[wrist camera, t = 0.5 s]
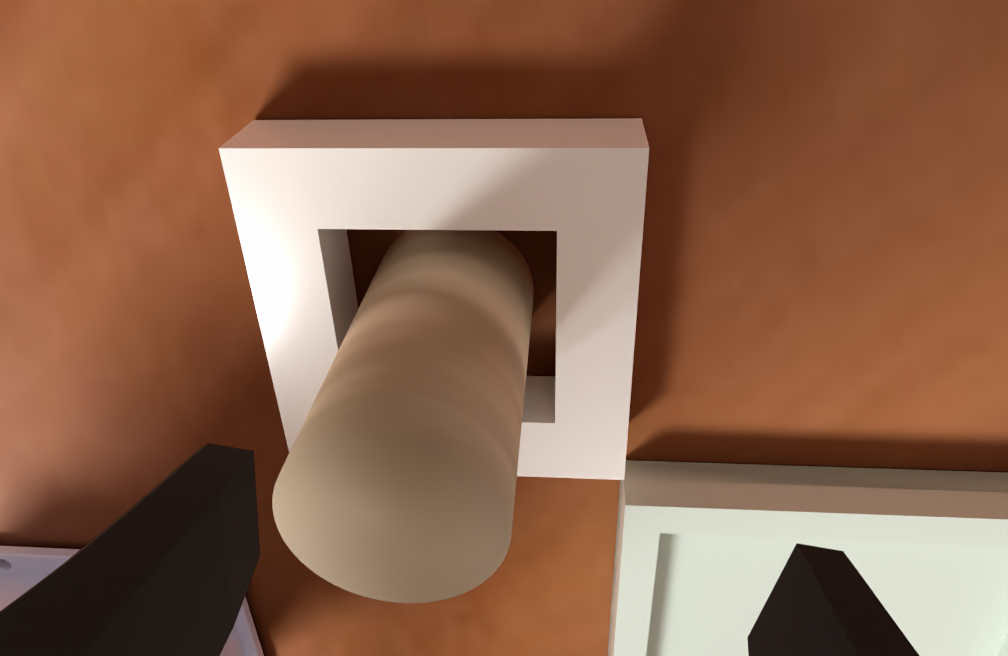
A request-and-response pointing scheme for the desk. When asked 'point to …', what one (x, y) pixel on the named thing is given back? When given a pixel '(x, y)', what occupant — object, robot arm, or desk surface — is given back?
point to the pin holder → (452, 206)
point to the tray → (810, 521)
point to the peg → (417, 425)
